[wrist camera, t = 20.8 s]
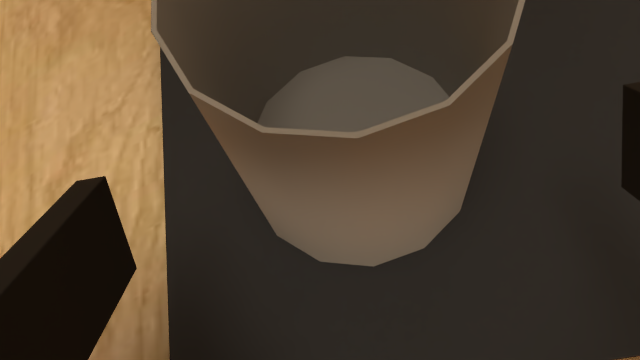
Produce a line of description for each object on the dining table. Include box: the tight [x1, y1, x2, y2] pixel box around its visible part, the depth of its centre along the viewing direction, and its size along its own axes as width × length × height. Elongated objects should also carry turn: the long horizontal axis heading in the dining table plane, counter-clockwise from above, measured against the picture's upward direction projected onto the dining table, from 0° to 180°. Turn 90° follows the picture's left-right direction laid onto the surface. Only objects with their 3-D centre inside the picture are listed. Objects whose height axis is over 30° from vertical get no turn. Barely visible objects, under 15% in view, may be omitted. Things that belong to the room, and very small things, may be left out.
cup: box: [151, 0, 525, 267], centre depth 17 cm, size 8×8×10 cm
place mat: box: [160, 0, 640, 360], centre depth 22 cm, size 20×16×1 cm
